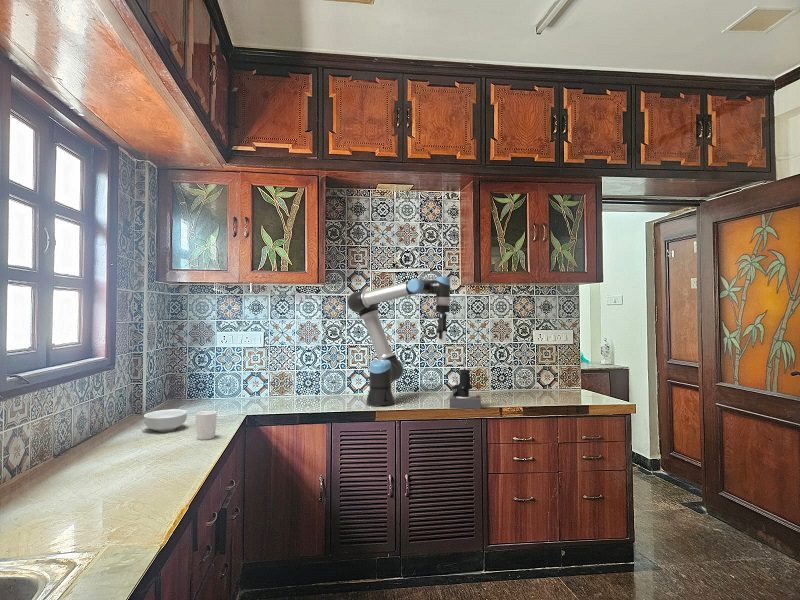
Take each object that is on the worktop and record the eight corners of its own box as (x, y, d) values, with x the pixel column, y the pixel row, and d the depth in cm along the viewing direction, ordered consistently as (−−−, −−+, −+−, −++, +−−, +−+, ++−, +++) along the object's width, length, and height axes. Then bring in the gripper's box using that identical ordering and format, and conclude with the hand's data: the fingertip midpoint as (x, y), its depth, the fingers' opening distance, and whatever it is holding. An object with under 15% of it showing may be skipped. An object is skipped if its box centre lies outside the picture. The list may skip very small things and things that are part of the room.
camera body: (449, 407, 257) (449, 396, 257) (450, 405, 265) (450, 394, 265) (480, 409, 254) (480, 397, 254) (481, 406, 262) (481, 395, 262)
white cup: (198, 441, 193) (198, 415, 194) (193, 437, 200) (193, 412, 200) (219, 438, 198) (219, 413, 198) (213, 434, 204) (213, 409, 205)
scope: (455, 368, 266) (474, 369, 262) (456, 394, 266) (474, 395, 262) (451, 370, 259) (470, 371, 255) (451, 396, 258) (470, 398, 254)
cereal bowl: (135, 430, 210) (135, 414, 210) (172, 423, 224) (172, 407, 224) (157, 436, 201) (158, 419, 201) (194, 428, 215) (194, 412, 215)
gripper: (447, 305, 256) (446, 346, 256) (451, 305, 280) (451, 342, 280) (432, 304, 257) (431, 345, 257) (438, 304, 282) (437, 342, 282)
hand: (441, 344), depth 269 cm, fingers open, 13 cm apart
